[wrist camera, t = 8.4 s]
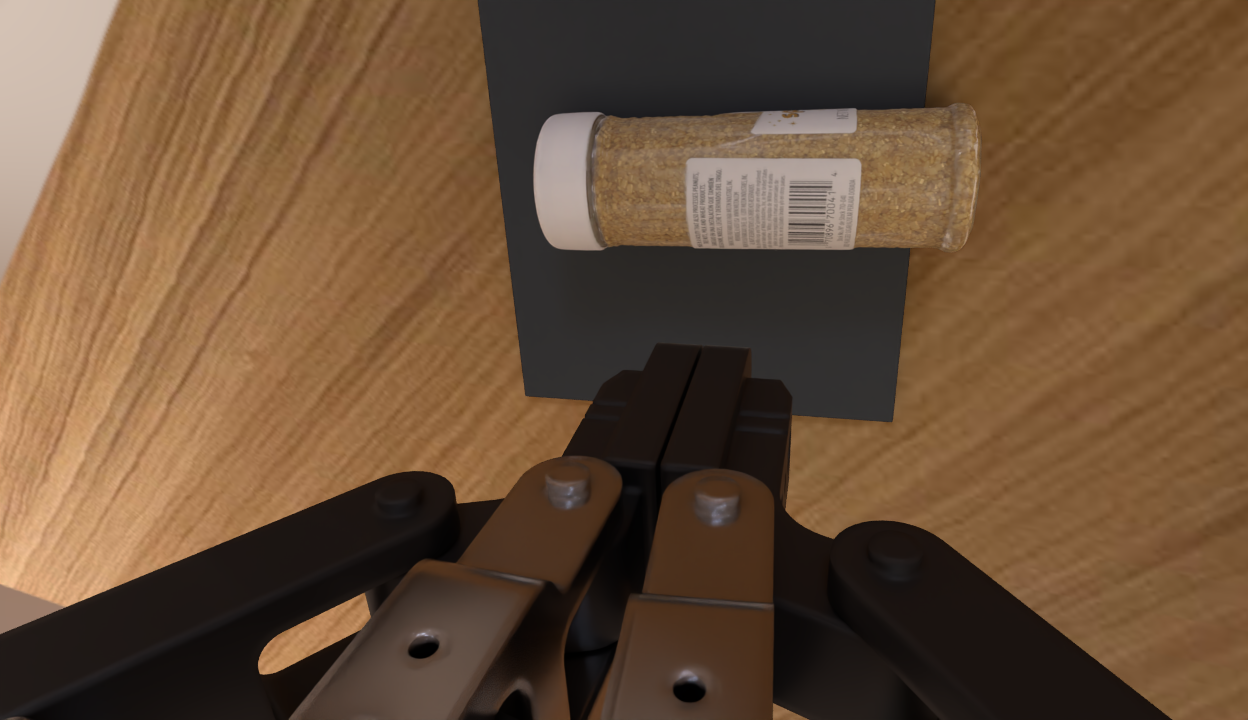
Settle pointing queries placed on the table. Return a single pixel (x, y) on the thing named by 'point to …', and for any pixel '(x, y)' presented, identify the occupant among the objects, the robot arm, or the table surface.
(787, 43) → the mat
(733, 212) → the sprinkles bottle
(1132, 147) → the table surface
